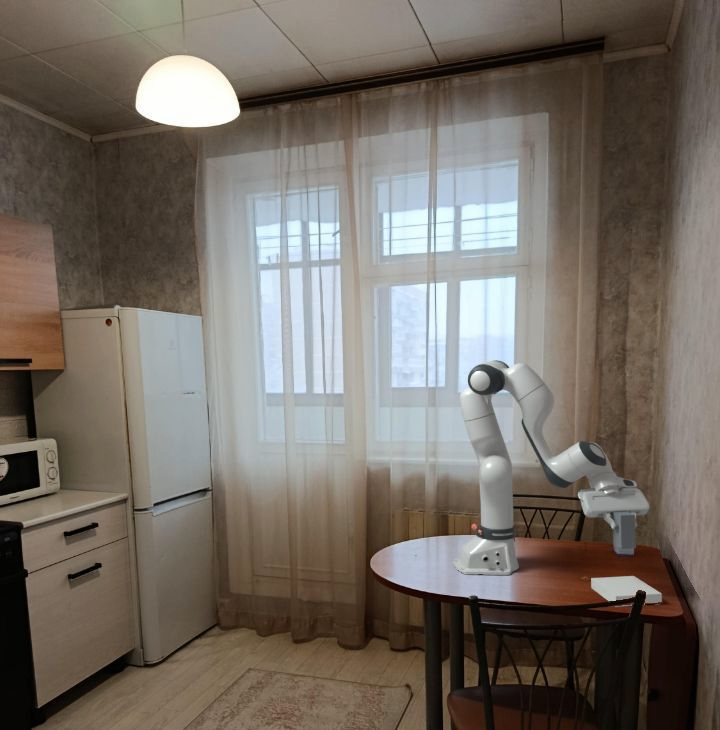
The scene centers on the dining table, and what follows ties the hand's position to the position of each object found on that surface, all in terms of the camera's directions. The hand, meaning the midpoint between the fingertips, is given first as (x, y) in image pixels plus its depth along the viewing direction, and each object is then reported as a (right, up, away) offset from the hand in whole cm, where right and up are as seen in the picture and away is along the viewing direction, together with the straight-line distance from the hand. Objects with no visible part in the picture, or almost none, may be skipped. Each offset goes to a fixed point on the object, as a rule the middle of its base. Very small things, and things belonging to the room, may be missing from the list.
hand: (625, 527), depth 167 cm
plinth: (0, -21, 0) cm, 21 cm away
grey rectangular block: (0, -6, +1) cm, 6 cm away
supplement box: (+18, -21, +38) cm, 46 cm away
